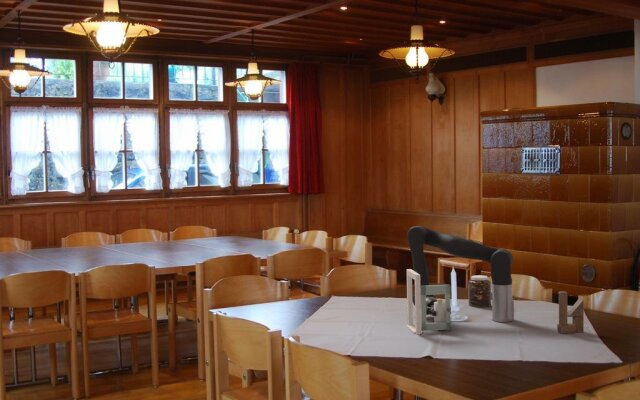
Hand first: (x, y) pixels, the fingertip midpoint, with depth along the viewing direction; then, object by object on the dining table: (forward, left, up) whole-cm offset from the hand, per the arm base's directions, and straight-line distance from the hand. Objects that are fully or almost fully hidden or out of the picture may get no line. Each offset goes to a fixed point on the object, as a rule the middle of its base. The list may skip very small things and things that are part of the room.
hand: (441, 313), depth 349 cm
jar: (-34, -52, -8) cm, 63 cm away
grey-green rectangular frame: (+3, +3, -7) cm, 8 cm away
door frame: (+12, -4, -8) cm, 15 cm away
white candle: (0, -3, -6) cm, 7 cm away
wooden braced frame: (-53, +15, -8) cm, 56 cm away
